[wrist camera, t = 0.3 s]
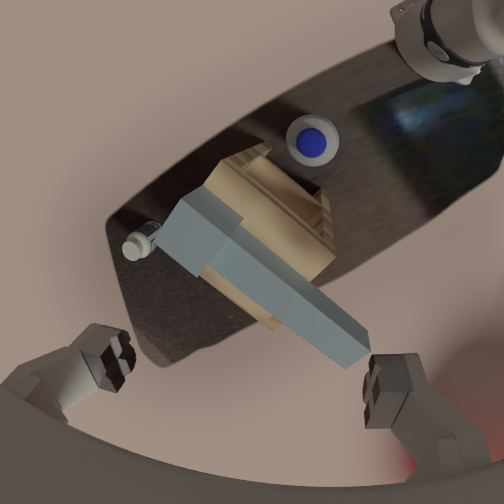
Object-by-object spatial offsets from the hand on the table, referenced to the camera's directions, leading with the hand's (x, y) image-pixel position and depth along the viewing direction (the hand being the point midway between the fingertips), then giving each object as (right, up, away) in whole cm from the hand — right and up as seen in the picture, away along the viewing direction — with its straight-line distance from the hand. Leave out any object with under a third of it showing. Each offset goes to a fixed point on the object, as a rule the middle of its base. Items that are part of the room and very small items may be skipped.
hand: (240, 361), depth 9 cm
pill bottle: (-20, +8, +53) cm, 57 cm away
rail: (+3, +1, +21) cm, 21 cm away
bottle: (+11, +23, +39) cm, 46 cm away
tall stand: (+5, +14, +44) cm, 46 cm away
